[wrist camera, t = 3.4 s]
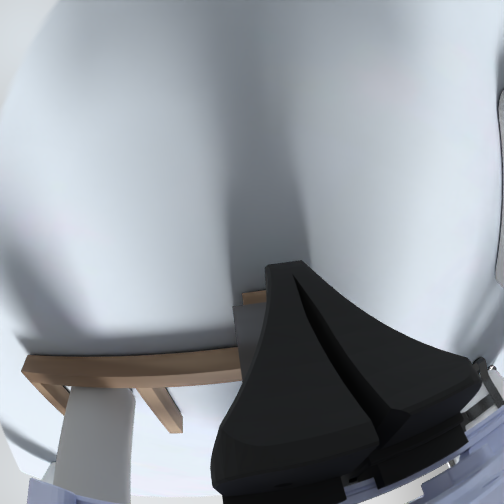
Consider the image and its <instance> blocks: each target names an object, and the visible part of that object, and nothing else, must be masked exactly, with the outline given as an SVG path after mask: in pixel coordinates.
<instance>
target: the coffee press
mask: <svg viewBox="0 0 504 504" xmlns="http://www.w3.org/2000/svg"><path fill="white" fill-rule="evenodd" d="M472 365H473V366H474V368H475V369H476V371H477V373H478V374H479V373H480V375H479V376H480V377H481V379H482V386H481V388H480V390H479V391H478V392H477V394H476V395H475V396H474V397H473V398H472V400H471V401H470V402H469V403H468V404H467V405H466V406H465V407H464V408H463V409H462V410H461V411H460V412H461V414H462V416H463V418H464V421H463V422H462V423H461V424H460V425H461V427H462V429H463V431H464V432H466V431H467V430H469V429H470V428H472V427H474V426H475V425H477V424H478V423H480V422H481V421H482V420H484V419H485V418H487V417H488V416H490V415H491V414H492V413H494V412H495V411H496V410H498V409H499V408H500V407H502V406H503V405H504V379H503V378H502V376H501V375H500V373H499V372H498V371H497V370H496V367H495V366H493V365H491V366H490V367H489V368H488V369H487V363H486V360H485V358H483V357H481V358H479V359H478V360H476V361H474V362H473V364H472ZM460 455H461V454H460ZM460 455H459V456H457V457H456V458H454V459H452V460H451V461H449V462H447V463H448V465H449V468H451V467H452V466H454V465H455V464H457V463H458V462H459V457H460Z"/></svg>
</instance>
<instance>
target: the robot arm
mask: <svg viewBox="0 0 504 504" xmlns="http://www.w3.org/2000/svg"><path fill="white" fill-rule="evenodd" d="M265 280H266V301H267V304H266V310H265V316H264V321H263V326H262V330H261V334H260V337H259V341H258V344H257V347H256V350H255V353H254V356H253V359H252V362H251V365H250V367H249V370H248V372H247V374H246V377H245V379H244V381H243V383H242V385H241V387H240V390H239V392H238V394H237V396H236V398H235V400H234V402H233V404H232V405H231V407H230V409H229V411H228V412H227V414H226V416H225V417H224V419H223V421H222V423H221V424H220V426H219V430H218V434H217V437H216V440H215V444H214V448H213V452H212V456H211V466H210V470H211V479H212V486H213V488H214V489H216V490H217V491H218V492H219V493H220V494H222V497H223V504H358V503H361V502H363V501H366V500H369V499H372V498H374V497H377V496H379V495H382V494H384V493H387V492H389V491H392V490H394V489H396V488H398V487H401V486H403V485H405V484H407V483H409V482H412V481H414V480H416V479H417V478H420V477H422V476H424V475H426V474H427V473H429V472H431V471H433V470H435V469H437V468H439V467H440V466H442V465H444V464H446V463H447V462H449V461H451V460H452V459H454V458H456V457H457V456H459V455H460V454H461V455H460V457H459V462H458V463H457V464H455V465H454V466H452V467H451V468H449V469H447V470H446V471H444V472H442V473H441V474H439V475H437V476H435V477H434V478H432V479H430V480H428V481H426V482H424V483H422V485H421V487H422V490H423V492H424V495H422V496H420V497H418V498H416V499H414V500H412V501H410V502H407V503H405V504H504V405H503V406H502V407H500V408H499V409H498V410H496V411H495V412H494V413H492V414H491V415H490V416H488V417H487V418H485V419H484V420H482V421H481V422H480V423H478V424H477V425H475V426H474V427H472V428H470V429H469V430H467V431H466V432H464V431H463V429H462V427H461V425H460V424H461V423H462V422H463V421H464V418H463V416H462V414H461V412H460V411H461V410H462V409H463V408H464V407H465V406H466V405H467V404H468V403H469V402H470V401H471V400H472V398H473V397H474V396H475V395H476V394H477V392H478V391H479V390H480V388H481V386H482V379H481V377H480V376H479V374H478V373H477V371H476V369H475V368H474V366H473V365H472V363H471V362H470V360H469V359H468V358H466V357H463V356H459V355H456V354H453V353H449V352H446V351H443V350H440V349H437V348H434V347H432V346H429V345H427V344H424V343H422V342H419V341H417V340H415V339H413V338H410V337H408V336H406V335H404V334H402V333H400V332H398V331H396V330H394V329H392V328H391V327H389V326H387V325H385V324H383V323H382V322H380V321H378V320H377V319H375V318H374V317H372V316H370V315H369V314H367V313H366V312H364V311H363V310H361V309H360V308H358V307H357V306H356V305H354V304H353V303H352V302H350V301H349V300H347V299H346V298H345V297H344V296H342V295H341V294H340V293H339V292H337V291H336V290H335V289H334V288H333V287H331V286H330V285H329V284H328V283H327V282H325V281H324V280H323V279H322V278H321V277H320V276H319V275H318V274H316V273H315V272H314V271H313V270H312V269H311V268H310V267H309V266H308V265H306V264H305V263H304V262H303V261H302V260H300V261H293V262H285V263H278V264H271V265H267V266H266V267H265ZM27 504H119V503H113V502H107V501H102V500H97V499H92V498H88V497H84V496H79V495H75V494H74V493H73V492H71V491H69V490H66V489H64V488H61V487H58V486H55V485H52V484H49V483H46V482H43V481H40V480H37V479H34V478H30V481H29V489H28V499H27Z"/></svg>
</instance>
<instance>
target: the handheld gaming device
mask: <svg viewBox="0 0 504 504" xmlns="http://www.w3.org/2000/svg"><path fill="white" fill-rule="evenodd" d="M498 110H499V122H500V131H501V142H502V157H503V209H502V224H501V235H500V244H499V252H498V259H497V265H496V271H495V277H496V280H497V282H498V283H499V284H500V285H501V286H502V287H503V288H504V90H503V92H502V93H501V96H500V100H499V109H498Z"/></svg>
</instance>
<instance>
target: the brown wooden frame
mask: <svg viewBox="0 0 504 504" xmlns="http://www.w3.org/2000/svg"><path fill="white" fill-rule="evenodd" d="M242 298H243V305H240V306H233V314H234V322H235V330H236V338H237V345H238V347H232V348H224V349H215V350H206V351H196V352H185V353H173V354H158V355H140V356H112V357H66V356H39V355H27V358H26V360H25V363H24V365H23V368H22V370H21V372H22V373H23V374H24V375H25V377H26V378H27V379H28V380H29V381H30V382H31V383H32V384H33V385H34V386H35V388H36V389H37V390H38V391H39V392H40V393H41V394H42V395H43V396H44V397H45V398H46V399H47V400H48V401H49V402H50V403H51V404H52V405H53V406H54V407H55V408H56V409H57V410H58V411H60V412H61V413H62V414H63V415H64V416H65V412H66V407H67V403H68V399H69V395H70V394H69V393H68V392H67V391H66V389H65V388H64V387H63V386H76V387H95V388H136V389H137V391H138V392H139V394H140V395H141V396H142V398H143V399H144V400H145V402H146V403H147V405H148V406H149V407H150V409H151V410H152V411H153V412H154V414H155V415H156V416H157V418H158V419H159V420H160V421H161V423H162V424H163V425H164V426H165V428H166V429H167V430H168V431H169V433H183V416H182V415H181V413H180V412H179V410H178V408H177V407H176V405H175V404H174V402H173V400H172V399H171V397H170V395H169V393H168V392H167V390H166V388H165V387H181V386H195V385H207V384H217V383H227V382H235V381H242V382H243V381H244V379H245V377H246V374H247V372H248V370H249V367H250V365H251V362H252V359H253V356H254V353H255V350H256V347H257V344H258V341H259V337H260V334H261V330H262V326H263V321H264V316H265V310H266V304H267V301H266V290H263V291H255V292H248V293H242ZM62 385H63V386H62Z"/></svg>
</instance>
